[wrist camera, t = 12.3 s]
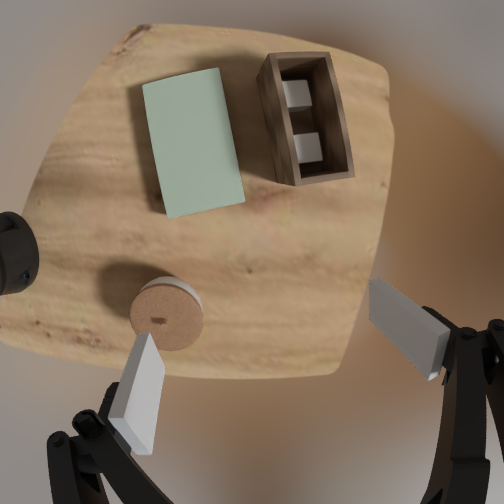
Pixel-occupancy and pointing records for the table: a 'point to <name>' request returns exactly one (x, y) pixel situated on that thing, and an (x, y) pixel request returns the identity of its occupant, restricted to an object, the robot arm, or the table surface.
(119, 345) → the table surface
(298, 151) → the block
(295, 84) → the block
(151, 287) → the lidded jar
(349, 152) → the box
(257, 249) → the table surface
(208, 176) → the lid
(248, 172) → the table surface
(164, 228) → the table surface
